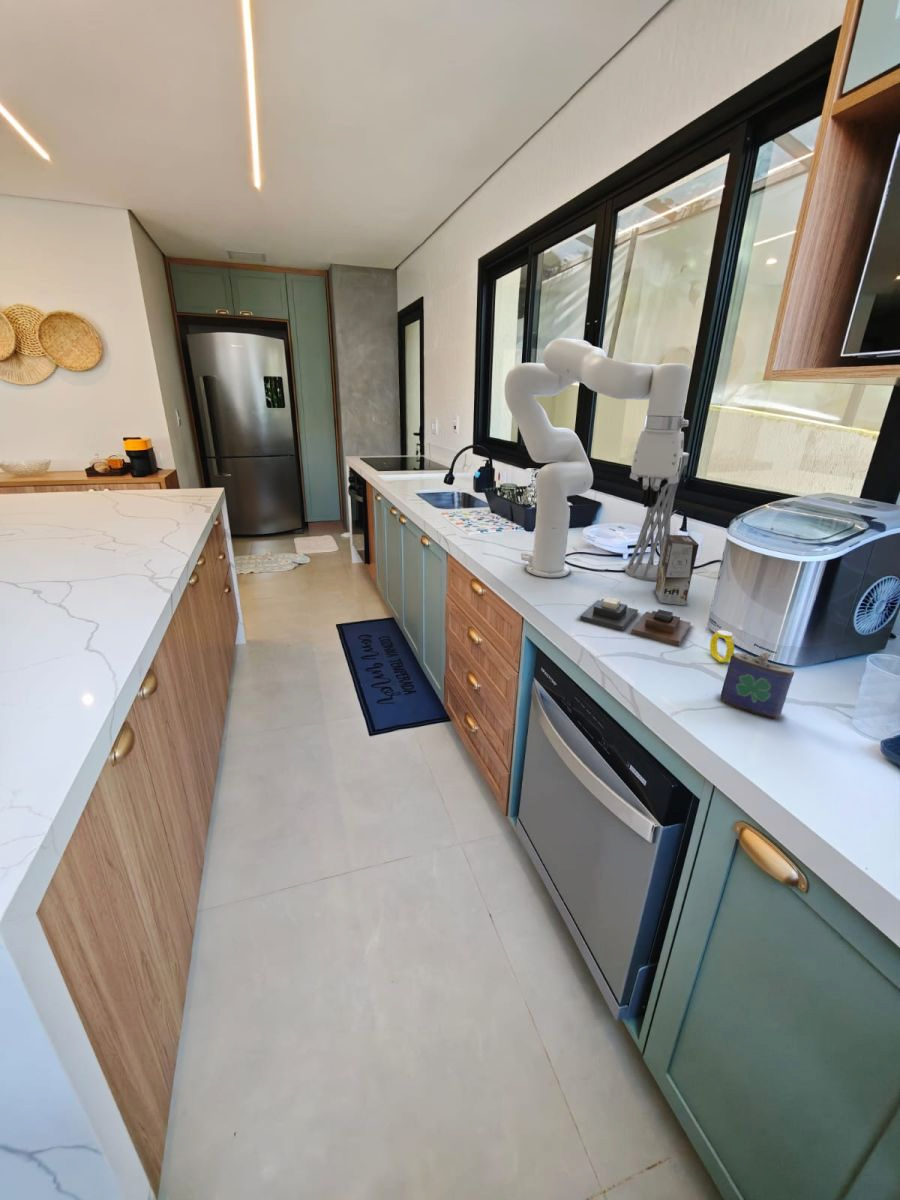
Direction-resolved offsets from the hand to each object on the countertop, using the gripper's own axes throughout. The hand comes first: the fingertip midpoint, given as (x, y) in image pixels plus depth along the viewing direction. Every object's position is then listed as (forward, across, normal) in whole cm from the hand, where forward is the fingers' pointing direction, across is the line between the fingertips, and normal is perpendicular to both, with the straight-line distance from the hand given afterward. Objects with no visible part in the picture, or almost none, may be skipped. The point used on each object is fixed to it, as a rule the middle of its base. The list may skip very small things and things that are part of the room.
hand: (648, 506), depth 119 cm
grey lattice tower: (+25, +3, -27) cm, 37 cm away
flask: (+25, -30, +35) cm, 53 cm away
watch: (+25, -23, +19) cm, 39 cm away
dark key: (+23, -10, +12) cm, 27 cm away
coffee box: (+25, -7, -10) cm, 28 cm away
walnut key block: (+25, -10, +12) cm, 30 cm away
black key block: (+25, +2, +12) cm, 28 cm away
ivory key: (+23, +2, +12) cm, 26 cm away
